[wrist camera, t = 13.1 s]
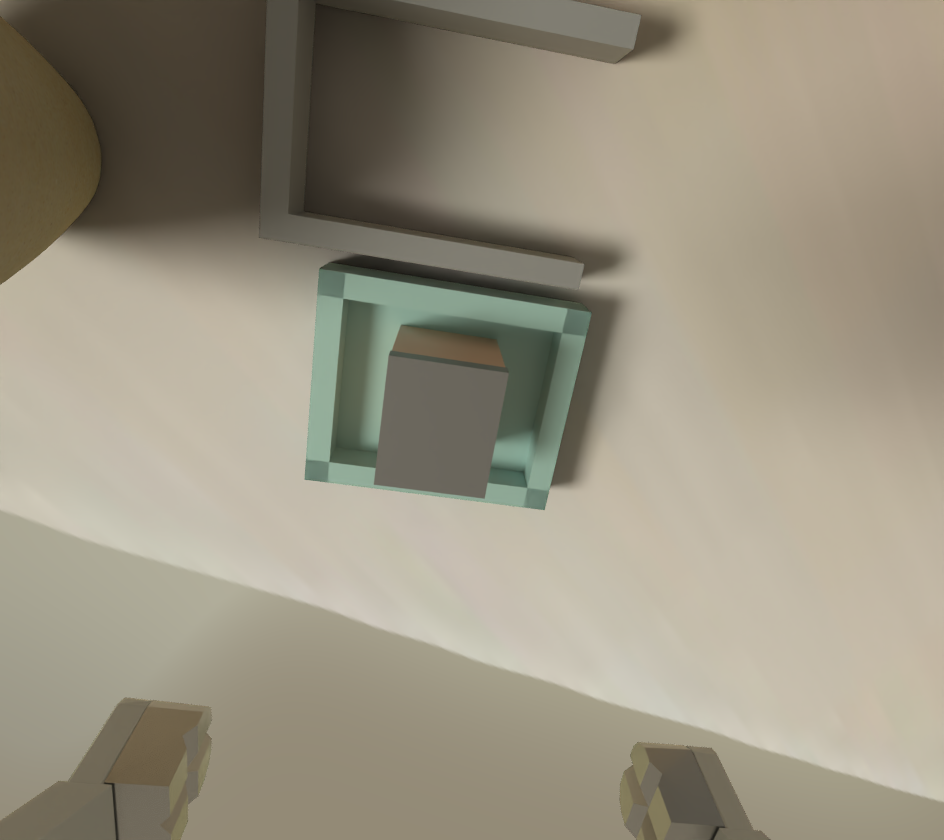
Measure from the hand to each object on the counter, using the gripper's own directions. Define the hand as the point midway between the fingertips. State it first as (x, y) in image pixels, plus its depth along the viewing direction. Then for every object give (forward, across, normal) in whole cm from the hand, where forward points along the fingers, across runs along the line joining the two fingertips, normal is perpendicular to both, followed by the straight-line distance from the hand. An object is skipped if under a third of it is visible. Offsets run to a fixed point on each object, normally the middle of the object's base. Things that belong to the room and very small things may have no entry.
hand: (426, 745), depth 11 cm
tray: (+22, 0, 0) cm, 22 cm away
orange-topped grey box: (+22, 0, 0) cm, 22 cm away
